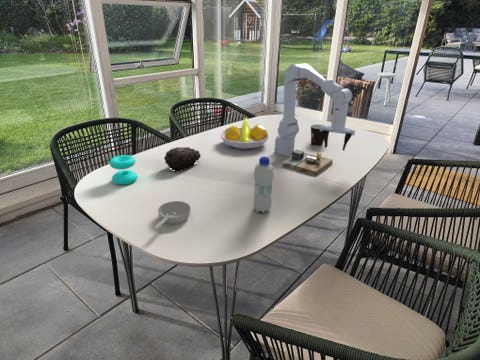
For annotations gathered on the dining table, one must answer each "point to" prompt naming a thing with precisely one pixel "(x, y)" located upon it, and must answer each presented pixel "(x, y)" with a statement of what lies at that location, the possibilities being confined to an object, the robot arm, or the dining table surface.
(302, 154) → the lock hardware
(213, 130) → the dining table surface
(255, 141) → the fruit bowl
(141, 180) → the dining table surface
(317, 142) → the coffee mug
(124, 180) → the donuts
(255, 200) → the bottle
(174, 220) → the small pan
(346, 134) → the robot arm
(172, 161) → the pine cone
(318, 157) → the bolt
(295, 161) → the wooden latch board
